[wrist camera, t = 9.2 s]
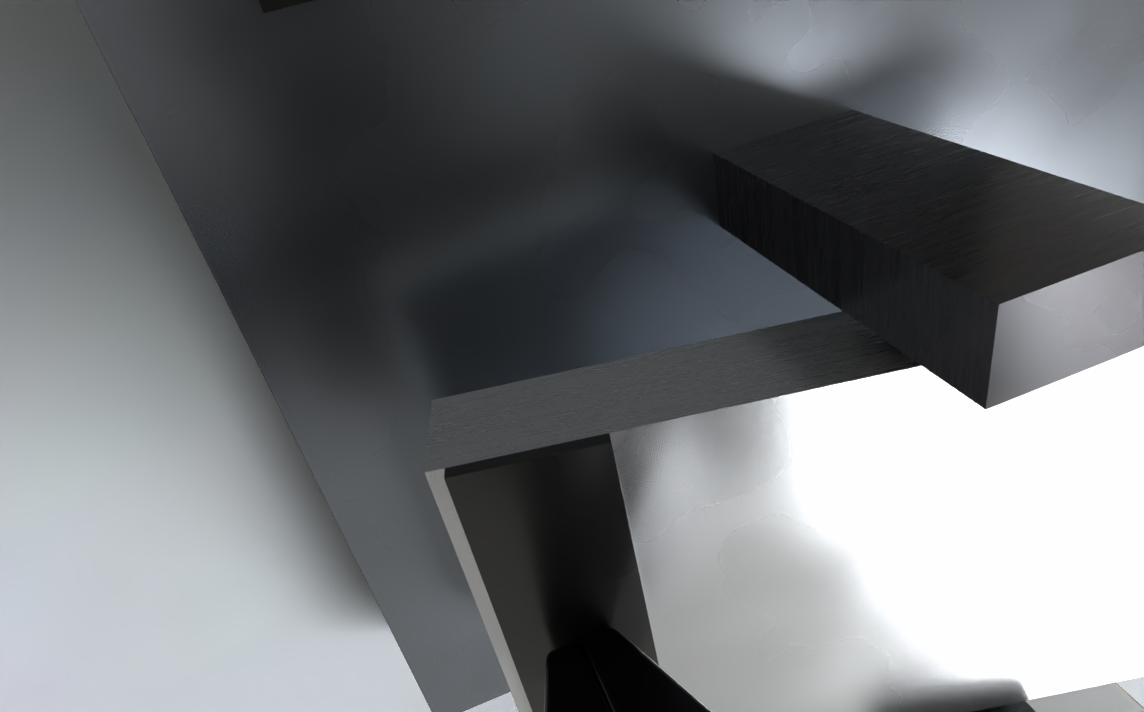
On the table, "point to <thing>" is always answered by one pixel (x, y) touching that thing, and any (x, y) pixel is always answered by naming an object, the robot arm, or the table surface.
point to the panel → (627, 210)
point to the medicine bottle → (1088, 701)
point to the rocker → (804, 523)
